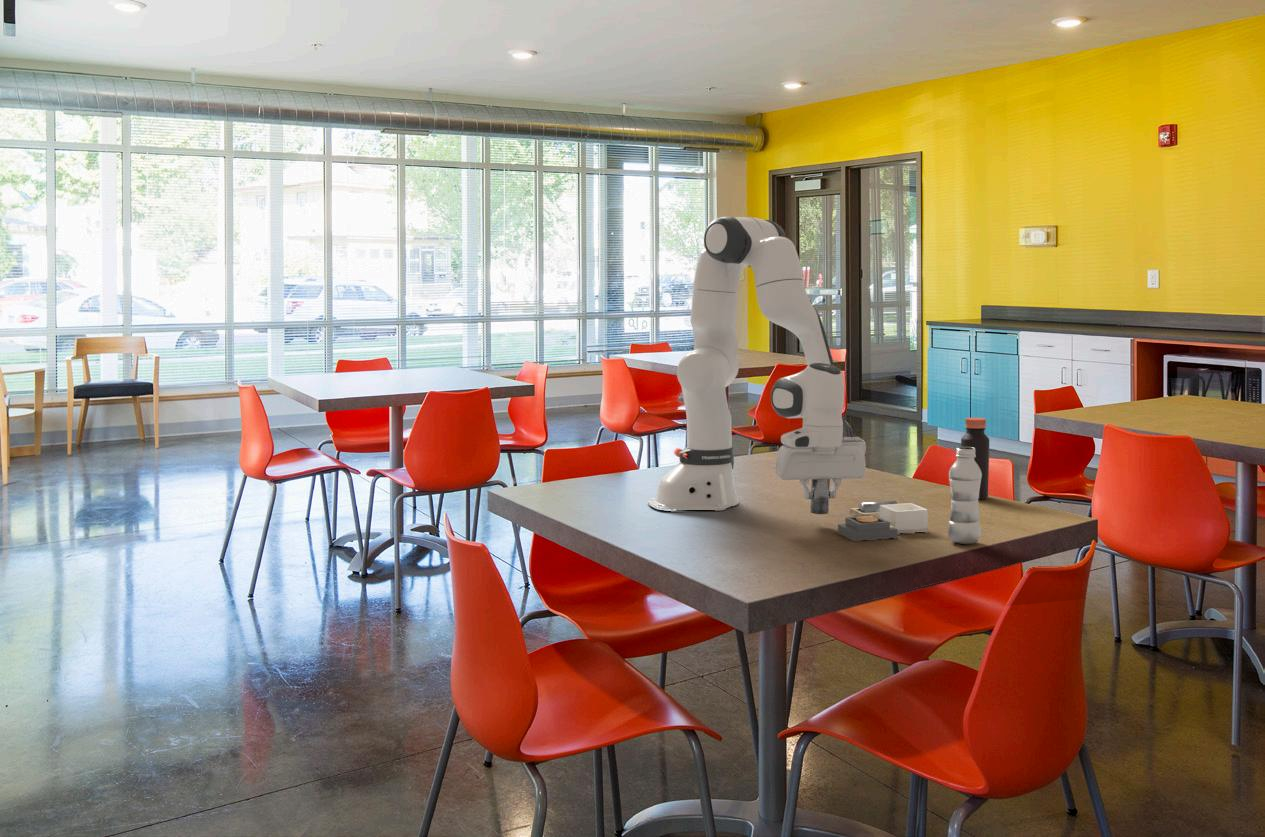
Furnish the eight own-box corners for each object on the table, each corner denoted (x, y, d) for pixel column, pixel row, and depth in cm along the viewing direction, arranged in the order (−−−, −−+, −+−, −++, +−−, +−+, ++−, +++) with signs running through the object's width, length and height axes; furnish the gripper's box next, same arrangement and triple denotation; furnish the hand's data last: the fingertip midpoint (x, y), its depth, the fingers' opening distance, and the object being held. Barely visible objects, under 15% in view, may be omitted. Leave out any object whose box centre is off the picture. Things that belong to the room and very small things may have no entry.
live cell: (865, 522, 237) (866, 504, 237) (858, 518, 241) (858, 501, 241) (901, 519, 239) (901, 502, 239) (892, 516, 243) (893, 499, 243)
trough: (861, 527, 236) (862, 513, 236) (850, 521, 242) (850, 508, 242) (907, 523, 239) (907, 510, 238) (894, 518, 245) (894, 505, 244)
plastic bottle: (987, 545, 218) (989, 449, 215) (958, 548, 216) (960, 451, 213) (969, 538, 224) (971, 445, 222) (940, 541, 222) (942, 446, 220)
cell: (814, 514, 235) (815, 476, 234) (807, 510, 239) (809, 473, 237) (831, 514, 236) (832, 475, 234) (824, 510, 239) (825, 472, 238)
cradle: (853, 541, 223) (853, 525, 223) (837, 533, 231) (838, 517, 230) (897, 538, 225) (897, 522, 225) (880, 530, 233) (880, 514, 233)
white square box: (895, 534, 229) (895, 511, 228) (879, 527, 236) (879, 505, 235) (927, 532, 230) (927, 509, 230) (910, 524, 238) (911, 503, 237)
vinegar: (988, 495, 269) (990, 417, 266) (987, 500, 263) (989, 420, 260) (961, 494, 271) (962, 416, 269) (958, 499, 265) (960, 419, 263)
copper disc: (862, 524, 225) (862, 520, 225) (852, 520, 229) (852, 516, 229) (882, 523, 226) (882, 519, 226) (872, 518, 230) (872, 515, 230)
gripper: (860, 434, 240) (857, 494, 242) (774, 435, 236) (772, 496, 238) (872, 438, 234) (869, 500, 236) (783, 440, 230) (781, 502, 232)
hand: (819, 498), depth 237 cm, fingers closed on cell, 4 cm apart
